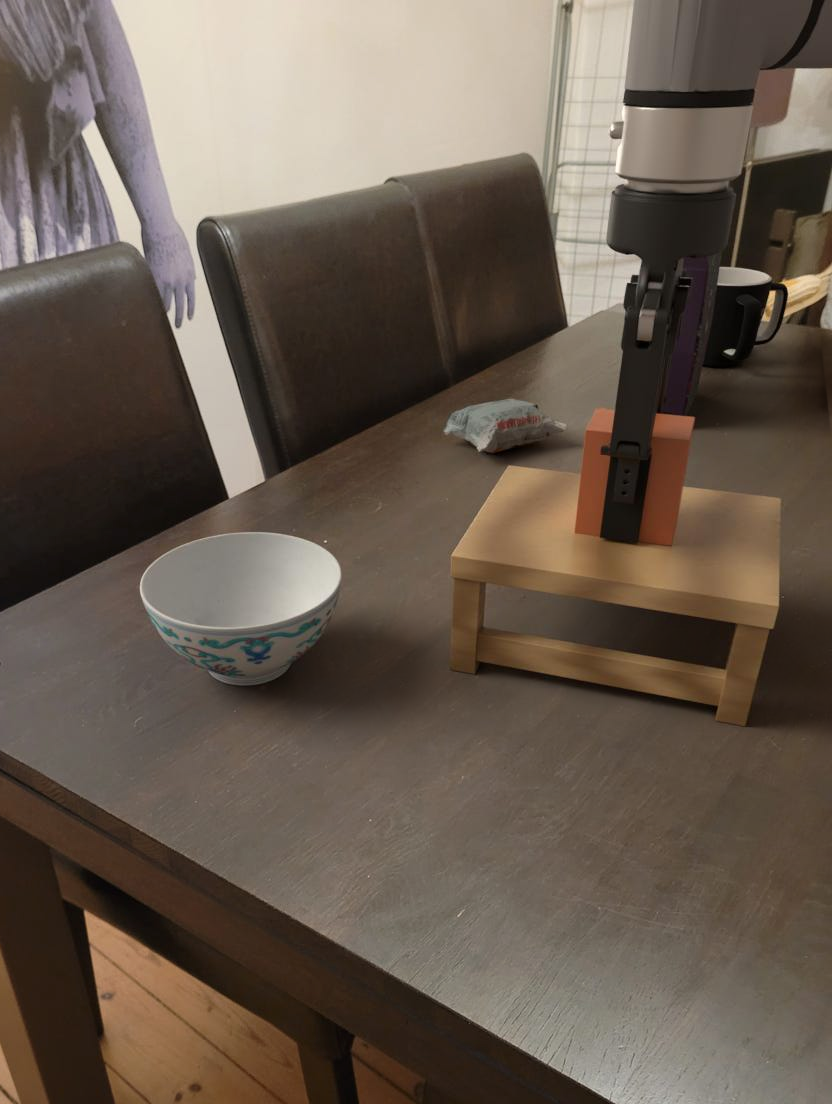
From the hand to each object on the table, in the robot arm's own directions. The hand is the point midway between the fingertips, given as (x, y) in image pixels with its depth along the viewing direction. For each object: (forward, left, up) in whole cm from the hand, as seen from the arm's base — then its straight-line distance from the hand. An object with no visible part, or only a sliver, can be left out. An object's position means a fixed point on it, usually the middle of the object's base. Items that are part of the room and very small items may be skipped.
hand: (624, 521), depth 72 cm
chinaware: (+26, +13, -10) cm, 31 cm away
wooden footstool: (0, 0, -10) cm, 10 cm away
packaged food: (+18, -39, -10) cm, 44 cm away
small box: (0, 0, 0) cm, 0 cm away
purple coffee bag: (+2, -59, -10) cm, 60 cm away
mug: (-3, -83, -10) cm, 84 cm away
